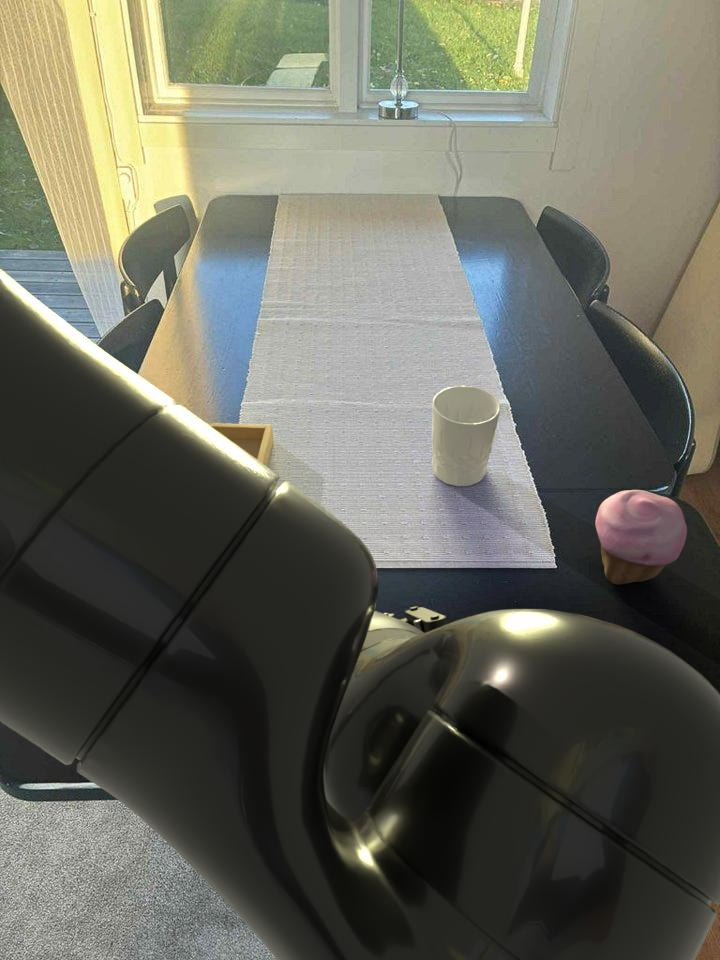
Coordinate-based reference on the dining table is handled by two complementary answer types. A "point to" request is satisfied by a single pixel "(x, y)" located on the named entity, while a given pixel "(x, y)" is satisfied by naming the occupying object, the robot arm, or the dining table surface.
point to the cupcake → (639, 535)
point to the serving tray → (249, 438)
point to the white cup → (463, 433)
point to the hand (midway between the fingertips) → (306, 645)
